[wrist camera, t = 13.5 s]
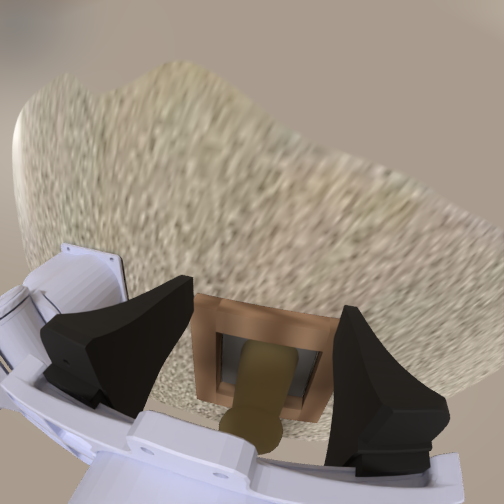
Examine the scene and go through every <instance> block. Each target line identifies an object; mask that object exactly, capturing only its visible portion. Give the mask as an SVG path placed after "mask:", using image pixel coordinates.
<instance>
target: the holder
mask: <svg viewBox="0 0 504 504" xmlns="http://www.w3.org/2000/svg"><path fill="white" fill-rule="evenodd" d="M190 321H191V336H192V349H193V362H194V373H195V383H196V393H197V399H199V400H203V401H206V402H210V403H214V404H217V405H221V406H225V407H229V408H232V404H233V398H234V392H235V386H236V380H237V373H238V367H239V361H240V355H241V349H242V346H243V344H244V343H245V342H246V341H247V340H248V339H252V340H257V341H262V342H267V343H273V344H278V345H284V346H289V347H295V348H296V349H297V351H298V355H299V360H298V364H297V367H296V370H295V373H294V376H293V379H292V382H291V385H290V388H289V391H288V394H287V397H286V400H285V402H284V405H283V408H282V411H281V414H280V416H279V418H284V419H290V420H297V421H304V422H312V423H317V422H318V420H319V418H320V417H321V415H322V413H323V411H324V409H325V407H326V405H327V403H328V401H329V399H330V397H331V395H332V392H333V390H334V384H333V362H332V353H333V340H334V336H335V333H336V330H337V327H338V324H339V321H340V319H337V318H330V317H323V316H317V315H311V314H305V313H299V312H293V311H287V310H281V309H276V308H270V307H265V306H259V305H254V304H249V303H244V302H239V301H233V300H229V299H224V298H219V297H214V296H209V295H205V294H200V293H197V295H196V296H195V298H194V312H193V315H192V317H191V319H190ZM222 333H223V360H222V381H221V345H222ZM317 351H319V353H318V356H317V359H316V362H315V365H314V368H313V371H312V374H311V376H310V379H309V382H308V385H307V388H306V390H305V393H304V396H303V397H302V394H303V392H304V389H305V386H306V383H307V381H308V378H309V375H310V372H311V369H312V366H313V363H314V360H315V357H316V354H317Z"/></svg>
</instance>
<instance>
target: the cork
mask: <svg viewBox="0 0 504 504" xmlns="http://www.w3.org/2000/svg"><path fill="white" fill-rule="evenodd" d="M298 360H299V355H298V351H297V349H296V348H295V347H289V346H284V345H278V344H273V343H267V342H262V341H257V340H252V339H248V340H247V341H246V342H245V343H244V344H243V346H242V349H241V355H240V361H239V367H238V373H237V380H236V386H235V392H234V398H233V404H232V408H230V409H229V410H227V412H226V413H225V414H224V415H223V417H222V418H221V420H220V423H219V431H222V432H226V433H230V434H233V435H236V436H238V437H241V438H244V439H245V440H247V441H248V442H250V443H251V444H253V445H254V446H255V448H256V450H257V453H258V455H260V454H265V453H269V452H271V451H273V450H274V449H275V448H276V447H277V446H278V445H279V442H280V440H281V438H282V434H283V428H282V423H281V420H280V419H279V416H280V414H281V411H282V408H283V405H284V402H285V400H286V397H287V394H288V391H289V388H290V385H291V382H292V379H293V376H294V373H295V370H296V367H297V364H298Z"/></svg>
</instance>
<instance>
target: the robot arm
mask: <svg viewBox="0 0 504 504" xmlns="http://www.w3.org/2000/svg"><path fill="white" fill-rule="evenodd" d="M61 250H62V252H60V253H59V254H57V255H56V256H54V257H53V258H51V259H50V260H48V261H47V262H45V263H44V264H42V265H41V266H39V267H38V268H36V269H35V270H33V271H32V272H31V273H30V274H29V275H28V276H27V277H26V279H25V280H24V283H23V285H18V286H16V287H14V288H12V289H11V290H9V291H8V292H6V293H5V294H3V295H2V296H0V355H1V356H2V358H3V359H4V361H5V362H6V363H7V365H8V366H9V368H10V369H11V370H12V372H11V373H10V374H9V372H8V371H7V370H6V368H5V367H4V365H3V364H2V363H1V361H0V409H1V408H5V409H9V410H14V411H17V412H21V413H22V414H23V415H24V416H25V417H26V418H27V419H28V420H29V421H31V422H32V423H33V424H34V425H35V426H37V427H38V428H39V429H40V430H41V431H43V432H44V433H45V434H46V435H48V436H49V437H50V438H52V439H53V440H54V441H55V442H57V443H58V444H59V445H61V446H62V447H63V448H65V449H66V450H67V451H69V452H70V453H72V454H73V455H75V456H76V457H77V458H79V459H80V460H82V461H84V462H85V463H86V464H88V465H89V466H90V467H89V468H88V470H87V472H86V474H85V475H84V477H83V478H82V480H81V482H80V483H79V485H78V487H77V488H76V490H75V492H74V494H73V495H72V497H71V499H70V500H69V502H68V504H461V503H463V502H464V500H465V498H464V489H463V481H462V474H461V467H460V461H459V456H458V452H453V453H447V454H440V455H435V456H433V457H431V458H430V457H429V451H431V450H432V442H431V441H432V440H433V439H434V438H435V437H437V435H439V434H440V433H441V431H443V430H444V428H445V427H446V426H447V425H448V423H449V420H450V414H449V410H448V406H447V402H446V399H445V397H443V396H441V395H440V394H438V393H436V392H435V391H433V390H431V389H430V388H428V387H427V386H425V385H424V384H423V383H421V382H420V381H418V380H417V379H416V378H415V377H413V376H412V375H411V374H410V373H409V372H408V371H407V370H405V369H404V368H403V367H402V366H401V365H400V364H399V363H398V362H397V361H396V360H395V359H394V358H393V356H392V355H391V354H390V353H389V352H388V351H387V350H386V348H385V347H384V346H383V345H382V343H381V342H380V341H379V339H378V338H377V337H376V335H375V334H374V332H373V331H372V329H371V328H370V326H369V325H368V323H367V322H366V320H365V318H364V317H363V315H362V314H361V312H360V311H359V309H358V308H357V307H354V306H348V305H344V308H343V312H342V315H341V318H340V321H339V324H338V327H337V330H336V333H335V336H334V340H333V353H332V362H333V384H334V405H333V415H332V423H331V430H330V437H329V444H328V450H327V454H326V459H325V464H324V466H318V465H308V464H299V463H291V462H284V461H277V460H272V459H266V458H260V457H257V455H258V453H257V450H256V448H255V446H254V445H253V444H251V443H250V442H248V441H247V440H245V439H244V438H241V437H238V436H236V435H233V434H230V433H226V432H222V431H219V430H215V429H211V428H208V427H204V426H200V425H197V424H194V423H191V422H188V421H184V420H181V419H178V418H175V417H172V416H170V415H167V414H164V413H161V412H156V411H152V410H147V411H143V409H144V407H145V404H146V402H147V399H148V396H149V394H150V392H151V389H152V387H153V385H154V383H155V380H156V378H157V376H158V374H159V372H160V370H161V368H162V366H163V364H164V362H165V360H166V359H167V357H168V356H169V354H170V353H171V351H172V349H173V348H174V346H175V345H176V343H177V342H178V340H179V339H180V337H181V336H182V334H183V332H184V331H185V329H186V328H187V326H188V324H189V321H190V319H191V317H192V315H193V312H194V293H193V277H190V276H185V275H180V276H178V277H176V278H174V279H172V280H170V281H168V282H166V283H164V284H162V285H160V286H158V287H156V288H154V289H152V290H150V291H148V292H146V293H144V294H141V295H139V296H137V297H135V298H132V299H130V300H127V294H126V289H125V283H124V277H123V270H122V263H121V258H120V257H119V256H118V255H115V254H111V253H106V252H102V251H97V250H93V249H89V248H84V247H80V246H76V245H72V244H67V243H62V244H61ZM112 258H113V259H112Z"/></svg>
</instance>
